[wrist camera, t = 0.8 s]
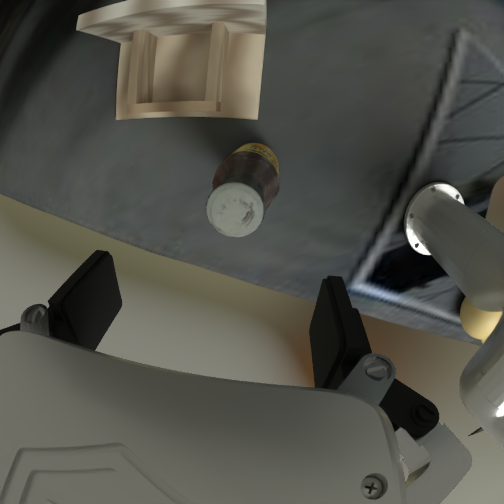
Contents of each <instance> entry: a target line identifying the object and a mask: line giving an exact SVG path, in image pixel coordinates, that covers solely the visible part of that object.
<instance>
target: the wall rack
mask: <svg viewBox="0 0 504 504" xmlns="http://www.w3.org/2000/svg"><path fill="white" fill-rule="evenodd" d="M266 26H267V14H266V0H128V1H124V2H120V3H116V4H112V5H109V6H106V7H102V8H99V9H96V10H93V11H90V12H87V13H84V14H81V15H79V17H78V22H77V28H76V30H78V31H82V32H85V33H89V34H93V35H96V36H100V37H103V38H106V39H109V40H113V41H116V42H119V43H121V48H120V57H119V68H118V81H117V100H116V120H124V119H137V118H154V117H224V118H242V119H256V120H258V111H259V100H260V90H261V79H262V68H263V57H264V47H265V36H266Z"/></svg>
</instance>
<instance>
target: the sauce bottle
mask: <svg viewBox="0 0 504 504" xmlns="http://www.w3.org/2000/svg"><path fill="white" fill-rule="evenodd" d="M212 184H213V190H212V192H211V194H210V195H209V197H208V200H207V203H206V213H207V217H208V220H209V222H210V223H211V225H212V226H213V227H214V228H215V229H216V230H217V231H218V232H220V233H221V234H223V235H226V236H231V237H243V236H247V235H249V234H251V233H253V232H254V231H255V230H256V229H257V228H258V227H259V226H260V225H261V223H262V220H263V218H264V214H265V211H266V209H267V208H268V206H269V205H270V204H271V202H272V201H273V200H274V198H275V197H276V195H277V193H278V191H279V185H280V178H279V166H278V160H277V158H276V156H275V154H274V152H273V151H272V150H271V149H270V148H268V147H267V146H265V145H263V144H260V143H248V144H245V145H243V146H241V147H240V148H238V149H237V150H236V151H235V152H233V153H232V154H231V155H230V156H228V157H227V158H226V159H225V160H224V161H223V163H222V164H221V165H220V166H219V167H218V169H217V171H216V173H215V176H214V179H213V183H212Z"/></svg>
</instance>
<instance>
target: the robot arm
mask: <svg viewBox="0 0 504 504" xmlns="http://www.w3.org/2000/svg"><path fill="white" fill-rule="evenodd" d="M404 232H405V236H406V239H407V241H408V242H409V244H410V245H411V246H412V248H413V249H414V250H416V251H417V252H418V253H421V254H424V255H432V256H433V257H434V258H435V259H436V261H437V262H438V263H439V264H440V265H441V266H442V268H443V269H444V270H445V271H446V272H447V274H448V275H449V276H450V277H451V278H452V280H453V281H454V282H455V283H456V285H457V286H458V287H459V288H460V290H461V291H462V292H463V293H464V295H465V296H466V297H467V299H468V300H469V301H470V302H471V303H472V304H473V305H474V306H475V307H476V308H478V309H480V310H482V311H487V312H502V316H501V318H500V320H499V322H498V323H497V325H496V326H495V328H494V330H493V331H492V332H491V334H490V335H489V337H488V338H487V339H486V341H485V342H484V343H483V344H482V346H481V347H480V348H479V350H478V351H477V352H476V353H475V355H474V356H473V357H472V359H471V360H470V361H469V362H468V364H467V365H466V366H465V368H464V369H463V371H462V373H461V376H460V378H459V384H458V386H459V394H460V398H461V400H462V402H463V404H464V406H465V408H466V409H467V410H468V412H469V414H470V415H471V416H472V417H473V418H474V419H475V421H476V422H477V423H478V424H479V425H480V426H481V427H482V428H483V429H484V430H485V431H486V432H487V433H488V434H489V435H490V436H491V437H492V438H493V440H494V441H495V442H496V443H497V444H498V445H499V446H500V447H501V448H502V449H503V450H504V233H503V232H501V231H500V230H499V229H497V228H496V227H495V226H494V225H492V224H491V223H490V222H488V221H487V220H485V219H484V218H483V217H481V216H480V215H479V214H477V213H476V212H474V211H473V210H471V209H470V208H468V207H467V206H465V205H464V201H463V199H462V196H461V194H460V193H459V192H458V190H457V189H455V188H454V187H453V186H451V185H449V184H447V183H444V182H434V183H430V184H428V185H426V186H424V187H423V188H421V189H420V190H419V191H418V192H417V193H416V194H415V195H414V197H413V198H412V199H411V201H410V203H409V205H408V207H407V210H406V213H405V218H404ZM48 303H49V308H48V309H47V307H46V306H45V305H43V304H35V305H32V306H30V307H29V308H27V309H26V310H25V311H24V312H23V314H22V316H21V323H18V324H16V325H13V326H10V327H7V328H4V329H2V330H0V504H440V503H441V502H442V501H443V500H444V499H445V498H446V497H447V495H448V494H449V493H450V492H451V491H452V490H453V489H454V488H455V487H456V485H457V484H458V483H459V482H460V481H461V479H462V478H463V477H464V476H465V475H466V473H467V472H468V471H469V469H470V467H471V465H472V457H471V454H470V452H469V451H468V450H467V449H466V447H465V446H464V445H463V444H462V443H461V442H460V441H459V439H458V438H457V437H456V436H455V435H454V433H453V432H452V431H451V430H450V429H449V428H448V427H447V426H446V425H445V423H444V424H443V425H441V424H440V423H439V412H438V409H437V408H436V406H435V405H434V404H433V403H432V402H430V401H429V400H428V399H426V398H424V397H423V396H421V395H420V394H418V393H417V392H415V391H414V390H412V389H411V388H409V387H408V386H406V385H404V384H403V383H401V382H400V381H398V380H397V379H395V375H396V368H395V366H394V364H393V362H392V361H391V360H390V359H389V358H387V357H386V356H383V355H381V354H377V353H372V351H371V348H370V344H369V341H368V338H367V335H366V332H365V329H364V326H363V323H362V320H361V317H360V314H359V311H358V309H356V308H352V305H351V302H350V299H349V296H348V293H347V290H346V287H345V284H344V281H343V279H342V277H339V276H328V277H327V279H323V280H322V284H321V288H320V292H319V295H318V299H317V303H316V306H315V310H314V313H313V317H312V320H311V324H310V330H309V334H310V343H311V351H312V361H313V371H314V382H315V387H304V386H303V387H302V386H290V385H277V384H266V383H255V382H247V381H238V380H230V379H223V378H216V377H209V376H203V375H197V374H191V373H185V372H179V371H175V370H170V369H165V368H160V367H155V366H151V365H147V364H142V363H138V362H134V361H130V360H126V359H122V358H118V357H115V356H111V355H107V354H104V353H101V352H97V351H95V350H96V348H97V346H98V345H99V343H100V341H101V339H102V338H103V336H104V334H105V333H106V331H107V330H108V328H109V326H110V325H111V323H112V321H113V320H114V318H115V317H116V315H117V314H118V312H119V310H120V309H121V307H122V299H121V295H120V291H119V286H118V282H117V278H116V272H115V268H114V262H113V258H112V256H111V255H110V254H109V252H108V251H102V250H96V251H95V252H94V253H93V254H92V255H91V256H90V257H89V258H88V259H87V260H86V261H85V262H84V263H83V264H82V265H81V266H80V267H79V268H78V269H77V270H76V271H75V272H74V273H73V274H72V275H71V276H70V277H69V278H68V279H67V281H66V282H65V283H64V284H63V285H62V286H61V287H60V288H59V289H58V290H57V291H56V292H55V294H54V295H53V296H52V297H51V298H50V299H49V300H48ZM400 453H401V454H400ZM401 455H402V456H403V457H404V459H402V460H403V461H404V463H405V464H406V465H407V467H408V469H409V476H408V479H407V481H406V482H405V478H404V472H403V466H402V460H401Z"/></svg>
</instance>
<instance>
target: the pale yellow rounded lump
mask: <svg viewBox="0 0 504 504" xmlns="http://www.w3.org/2000/svg"><path fill="white" fill-rule="evenodd" d="M501 316H502V312H487V311H482V310H480V309H478V308H476V307H475V306H474V305H473V304H472V303H471V302H470V301H469V300H468V299H467V297H465V299H464V300H463V302H462V305H461V309H460V320H461V324H462V326H463V328H464V330H465V331H466V332H467V333H468V334H469V335H470V336H472V337H474V338H477V339H480V340H481V341H482V343H484V342H485V341H486V339H487V338H488V337H489V335H490V334H491V332H492V331H493V330H494V328H495V326H496V325H497V323H498V322H499V320H500V318H501Z"/></svg>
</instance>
